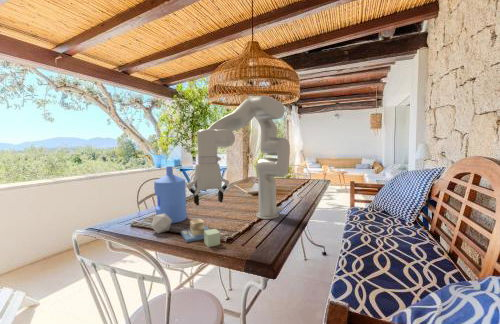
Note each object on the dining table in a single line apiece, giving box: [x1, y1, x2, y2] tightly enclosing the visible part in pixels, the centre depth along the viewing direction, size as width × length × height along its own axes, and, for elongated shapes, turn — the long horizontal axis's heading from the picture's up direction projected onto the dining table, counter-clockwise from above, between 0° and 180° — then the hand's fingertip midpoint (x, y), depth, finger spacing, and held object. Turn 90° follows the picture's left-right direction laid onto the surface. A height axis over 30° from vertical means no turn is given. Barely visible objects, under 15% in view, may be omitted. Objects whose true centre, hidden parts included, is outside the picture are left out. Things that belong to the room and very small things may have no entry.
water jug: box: [153, 166, 188, 225], centre depth 128 cm, size 16×16×28 cm
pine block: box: [189, 218, 205, 235], centre depth 108 cm, size 5×5×5 cm
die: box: [150, 213, 172, 234], centre depth 113 cm, size 8×9×10 cm
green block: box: [203, 228, 221, 248], centre depth 99 cm, size 5×5×5 cm
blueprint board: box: [180, 225, 211, 243], centre depth 108 cm, size 12×11×1 cm
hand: (209, 203), depth 98 cm, fingers open, 9 cm apart
